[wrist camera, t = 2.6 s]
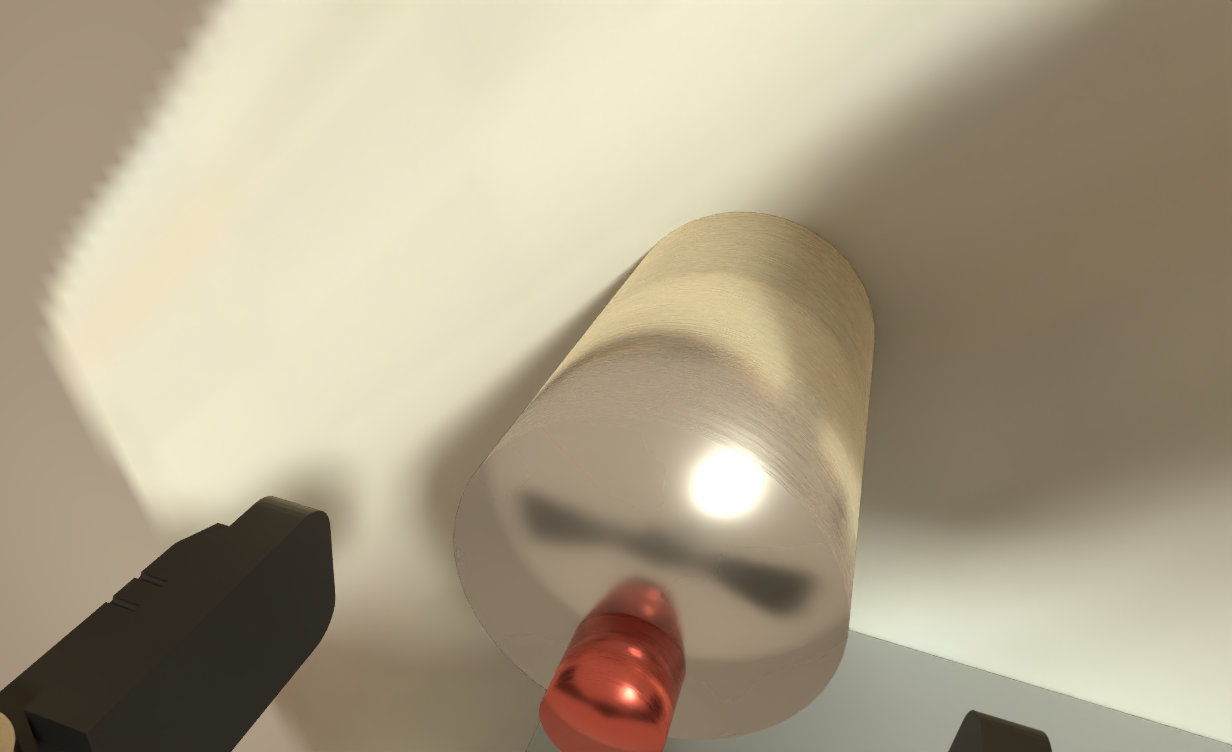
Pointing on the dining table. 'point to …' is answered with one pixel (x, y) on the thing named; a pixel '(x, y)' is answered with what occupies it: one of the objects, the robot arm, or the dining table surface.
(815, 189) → the dining table surface
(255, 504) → the robot arm
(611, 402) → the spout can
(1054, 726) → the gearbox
